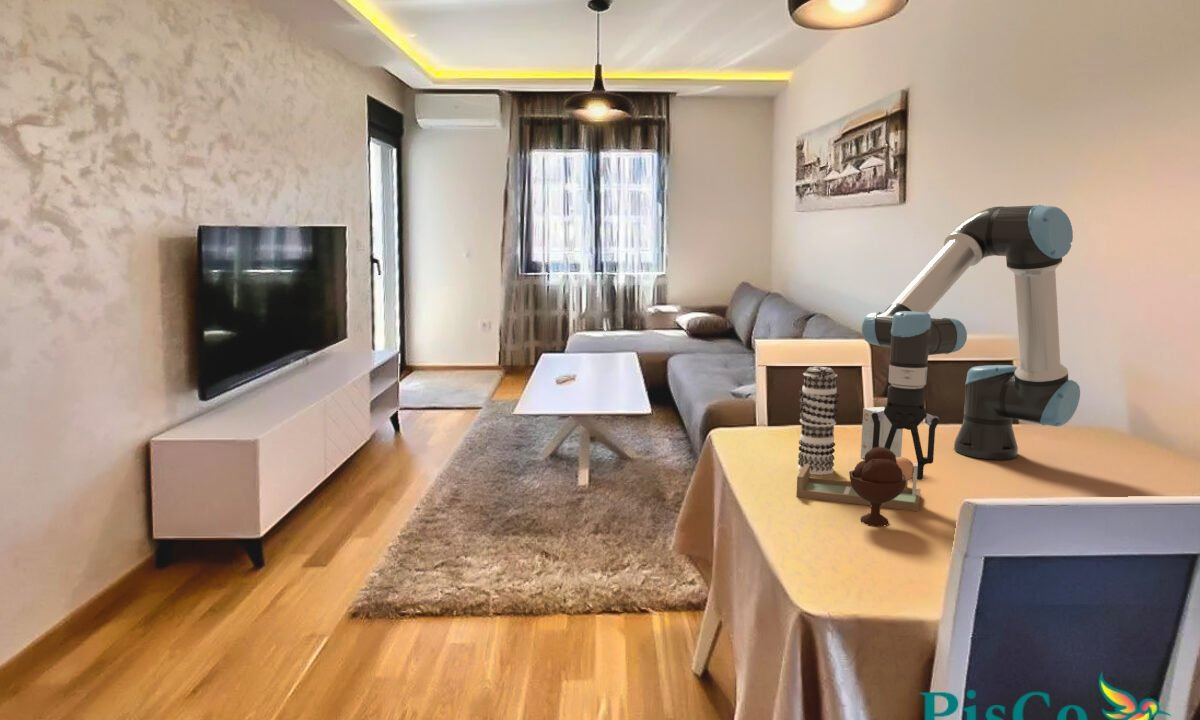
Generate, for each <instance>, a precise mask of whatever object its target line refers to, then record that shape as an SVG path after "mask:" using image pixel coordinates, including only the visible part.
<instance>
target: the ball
mask: <svg viewBox="0 0 1200 720" xmlns="http://www.w3.org/2000/svg"><path fill="white" fill-rule="evenodd" d="M896 461H897V462H896V463H897V464H898V466H899V468H901V470H902V475H904V476H905V478H906V480H907V479H908V480H909V479H911V477H913V472H914V463H913V462H912V461H911V460H910V459H909V458H908V457H903V456H901V457H897V458H896Z"/></svg>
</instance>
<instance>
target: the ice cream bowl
mask: <svg viewBox="0 0 1200 720" xmlns="http://www.w3.org/2000/svg"><path fill="white" fill-rule="evenodd" d="M896 462H897V461H896V456H895V454H894V453H893V452H892V451H890V450H889V449H887V448H885V447H876V448H872V449H871V450H870V451H869V452H867V453H866V454H865V459H864V460H861V461H860V462H858V463H856V465H855V467H854V470H850V471H848V474H849V481H851V485H852V487H853V490H854V491H855V492H856V493H857V494H858V495H859V496H860V497H862V498H863V499H865V500H867V501H869V502H870V503H871V506H870V512H869V513H866V514H865V515H862V516H861V517H860V523H862V522H864V523H865V525H866V524H868V525H867V526H871V525H873V526H872V527H885V526H884V525H886V526H888V525H887V524H889V525H890V522H889V519H888V518H887V517H886V516H884V515H883V514H881V512H880V511H881V507H880V506H881V504H882V503H885V502H888V501H890V500H892V499H894V498H896V497H897V496H898V495H900V494H901V493H902V491H903V490H904V488H905V485H906V482H907V480H906V478H905V476H904V475H902V470H901V468H899V466H898V464H897V463H896ZM864 523H863V524H864Z"/></svg>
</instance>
